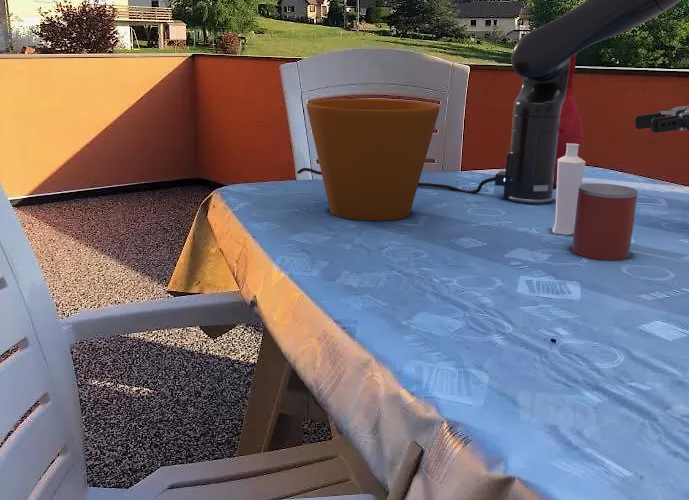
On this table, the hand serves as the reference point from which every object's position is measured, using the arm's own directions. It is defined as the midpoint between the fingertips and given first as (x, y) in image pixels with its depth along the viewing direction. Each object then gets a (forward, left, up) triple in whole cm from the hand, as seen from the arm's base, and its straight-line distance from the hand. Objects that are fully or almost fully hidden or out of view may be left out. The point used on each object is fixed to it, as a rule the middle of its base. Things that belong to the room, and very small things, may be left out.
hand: (643, 124), depth 115 cm
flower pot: (-45, -7, -19) cm, 49 cm away
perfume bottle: (-10, -4, -19) cm, 22 cm away
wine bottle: (-19, +40, -19) cm, 48 cm away
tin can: (-3, -14, -19) cm, 23 cm away
